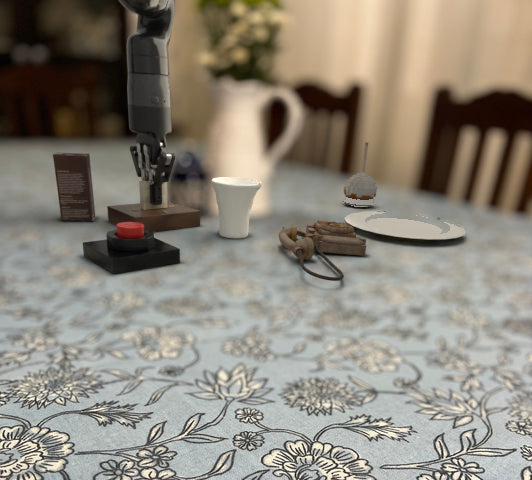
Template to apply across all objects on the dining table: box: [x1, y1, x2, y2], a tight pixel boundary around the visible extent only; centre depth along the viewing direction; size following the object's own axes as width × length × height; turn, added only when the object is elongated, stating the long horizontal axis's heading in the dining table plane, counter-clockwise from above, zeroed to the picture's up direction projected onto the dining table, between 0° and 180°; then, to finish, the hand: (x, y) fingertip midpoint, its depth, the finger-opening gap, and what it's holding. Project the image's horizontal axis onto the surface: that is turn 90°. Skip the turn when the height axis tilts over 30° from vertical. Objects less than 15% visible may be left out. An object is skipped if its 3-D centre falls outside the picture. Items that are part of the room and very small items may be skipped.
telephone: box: [278, 220, 367, 282], centre depth 87 cm, size 15×33×4 cm, turn 5°
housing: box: [82, 228, 181, 275], centre depth 79 cm, size 11×10×4 cm
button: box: [115, 222, 144, 238], centre depth 77 cm, size 4×4×2 cm
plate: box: [344, 210, 467, 243], centre depth 108 cm, size 25×25×2 cm
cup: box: [211, 176, 262, 239], centre depth 95 cm, size 9×9×10 cm
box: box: [52, 152, 96, 222], centre depth 98 cm, size 6×4×12 cm
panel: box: [106, 200, 201, 233], centre depth 100 cm, size 14×11×3 cm
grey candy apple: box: [342, 141, 378, 207], centre depth 128 cm, size 8×8×15 cm
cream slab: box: [138, 180, 168, 210], centre depth 98 cm, size 5×2×5 cm, turn 129°
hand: (153, 203), depth 99 cm, fingers closed on cream slab
